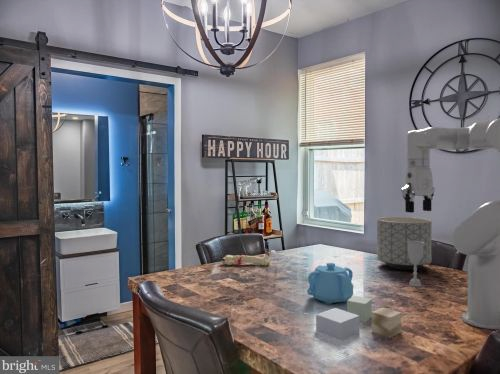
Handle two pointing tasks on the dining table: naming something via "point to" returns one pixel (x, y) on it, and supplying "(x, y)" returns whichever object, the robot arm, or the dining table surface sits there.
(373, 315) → the maple cube
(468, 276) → the robot arm
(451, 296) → the dining table surface
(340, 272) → the decorative pot
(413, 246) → the chalice
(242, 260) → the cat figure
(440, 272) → the dining table surface
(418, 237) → the planter
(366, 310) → the sage cube
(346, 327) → the base block
